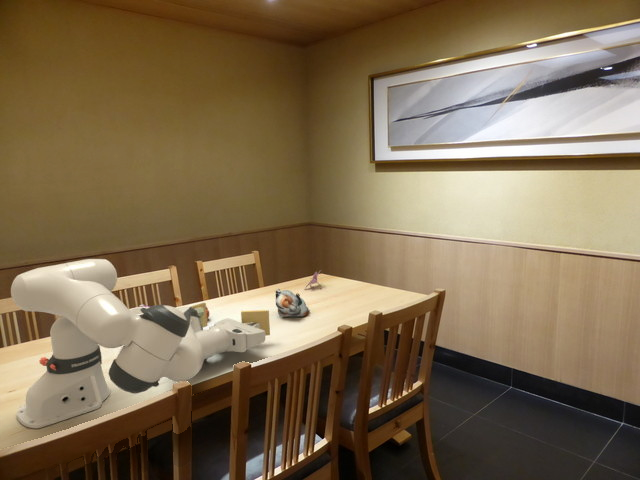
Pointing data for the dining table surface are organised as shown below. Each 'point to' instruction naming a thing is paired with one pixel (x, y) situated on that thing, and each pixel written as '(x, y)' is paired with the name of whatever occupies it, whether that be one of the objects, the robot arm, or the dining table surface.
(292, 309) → the grey lumpy piece
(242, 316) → the tan placard on stand
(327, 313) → the dining table surface
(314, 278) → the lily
